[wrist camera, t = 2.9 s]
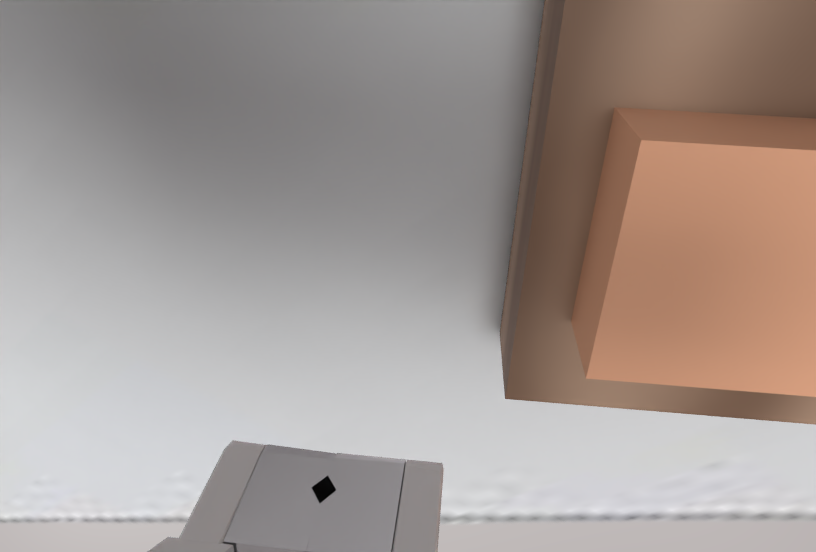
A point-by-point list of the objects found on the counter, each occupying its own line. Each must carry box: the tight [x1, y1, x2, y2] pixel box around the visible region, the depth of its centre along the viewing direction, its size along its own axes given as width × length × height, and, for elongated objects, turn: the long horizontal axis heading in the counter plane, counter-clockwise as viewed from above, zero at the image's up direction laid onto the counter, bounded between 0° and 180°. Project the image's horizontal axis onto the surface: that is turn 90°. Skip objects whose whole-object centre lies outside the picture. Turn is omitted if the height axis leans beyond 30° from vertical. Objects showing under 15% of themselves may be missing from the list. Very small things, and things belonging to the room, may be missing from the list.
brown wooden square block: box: [500, 0, 816, 424], centre depth 17 cm, size 12×12×4 cm
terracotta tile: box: [571, 107, 816, 397], centre depth 14 cm, size 8×6×2 cm
